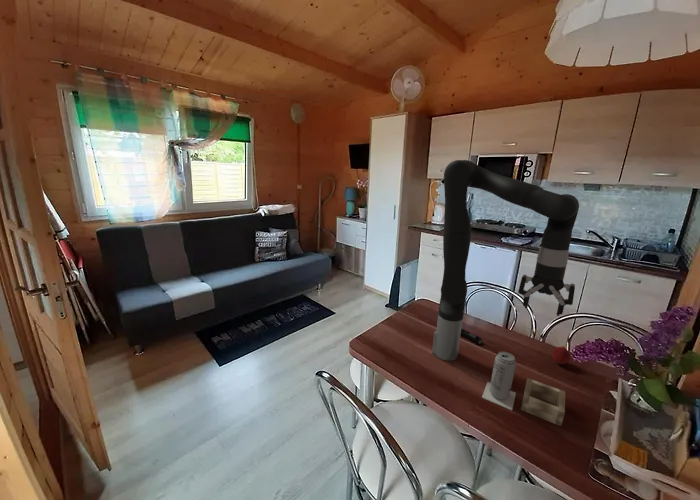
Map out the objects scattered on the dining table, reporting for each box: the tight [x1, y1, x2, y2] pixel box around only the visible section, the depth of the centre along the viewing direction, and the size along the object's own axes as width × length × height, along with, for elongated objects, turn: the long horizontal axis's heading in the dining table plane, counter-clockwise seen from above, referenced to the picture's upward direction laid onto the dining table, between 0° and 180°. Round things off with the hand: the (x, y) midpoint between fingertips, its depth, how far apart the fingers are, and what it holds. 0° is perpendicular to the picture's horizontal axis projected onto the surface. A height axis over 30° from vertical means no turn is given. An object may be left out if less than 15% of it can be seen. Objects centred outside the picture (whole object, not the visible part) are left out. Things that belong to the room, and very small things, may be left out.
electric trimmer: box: [460, 328, 484, 346], centre depth 135 cm, size 4×16×3 cm, turn 34°
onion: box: [551, 344, 571, 365], centre depth 117 cm, size 6×6×8 cm
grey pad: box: [481, 381, 517, 411], centre depth 101 cm, size 9×9×1 cm
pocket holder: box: [520, 377, 566, 427], centre depth 96 cm, size 11×11×5 cm
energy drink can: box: [489, 351, 517, 400], centre depth 99 cm, size 6×6×15 cm
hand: (541, 310), depth 95 cm, fingers open, 8 cm apart
